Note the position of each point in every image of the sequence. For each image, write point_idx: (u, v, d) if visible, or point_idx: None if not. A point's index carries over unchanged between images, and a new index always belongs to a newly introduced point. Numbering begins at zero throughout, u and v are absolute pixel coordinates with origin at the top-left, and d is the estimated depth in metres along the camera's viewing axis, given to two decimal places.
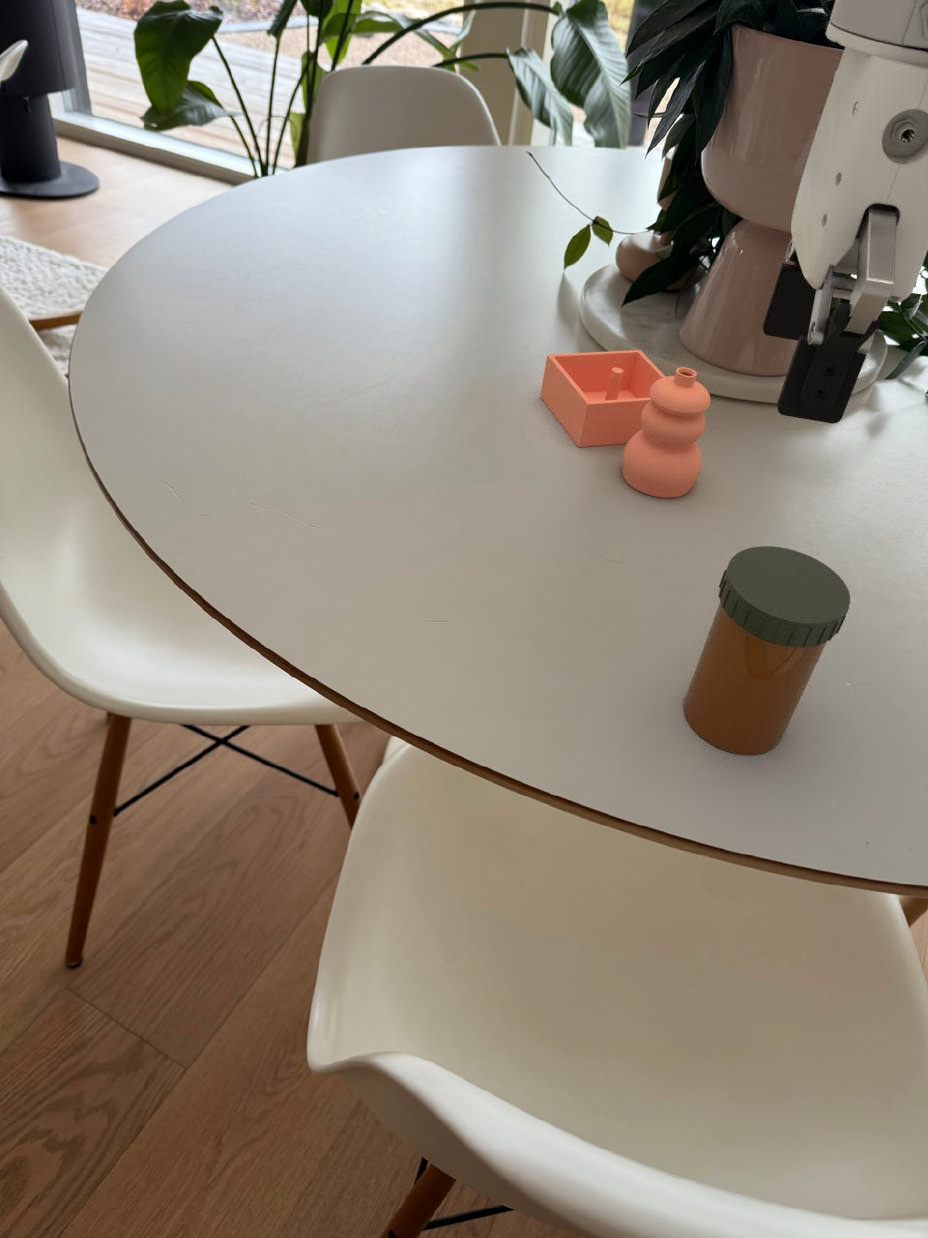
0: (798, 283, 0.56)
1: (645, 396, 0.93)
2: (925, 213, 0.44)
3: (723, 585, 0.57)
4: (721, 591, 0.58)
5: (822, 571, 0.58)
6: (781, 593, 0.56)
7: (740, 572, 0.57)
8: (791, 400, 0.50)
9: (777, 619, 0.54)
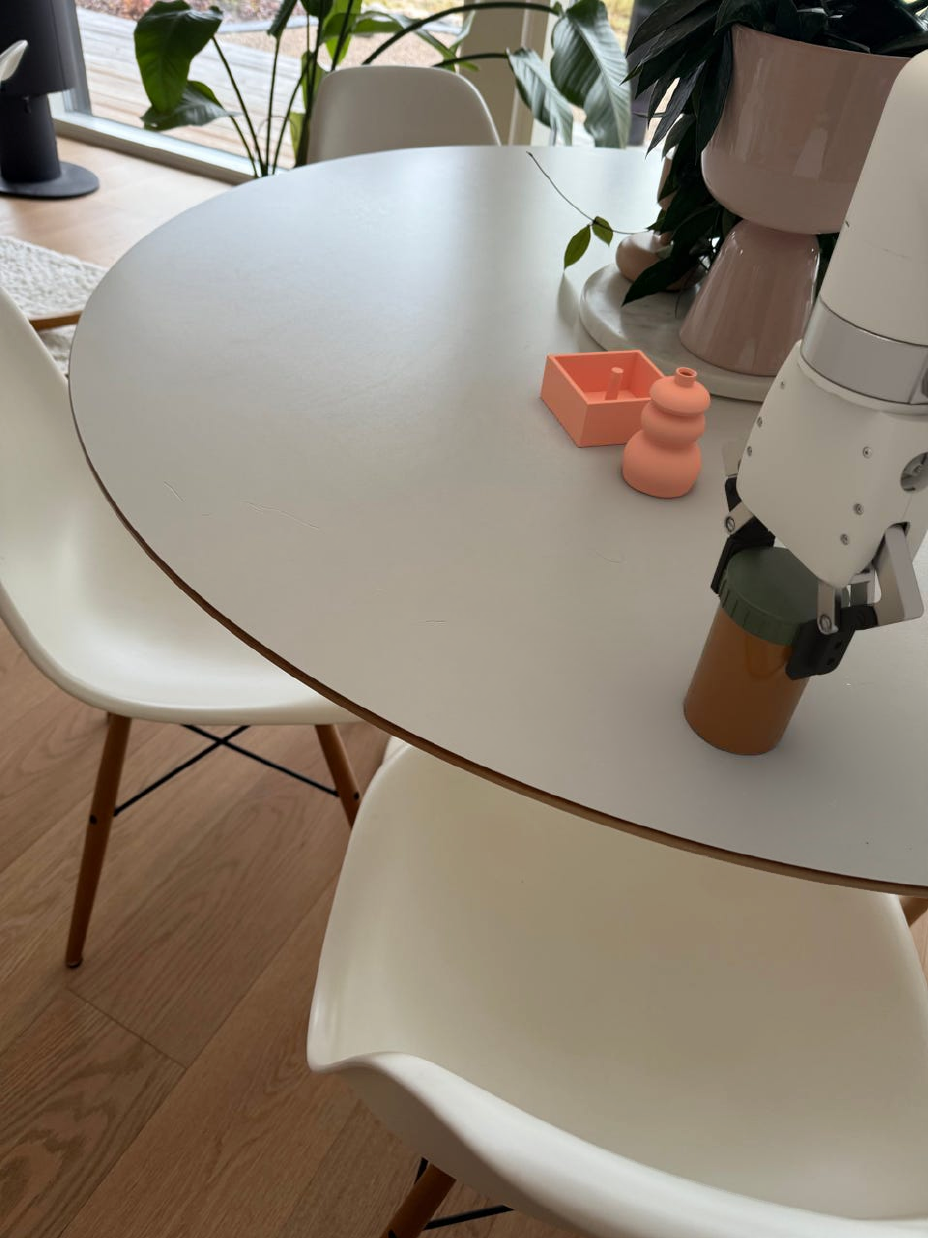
0: None
1: (645, 396, 0.93)
2: (927, 519, 0.49)
3: (723, 585, 0.57)
4: (721, 591, 0.58)
5: None
6: (781, 593, 0.56)
7: (740, 572, 0.57)
8: (801, 669, 0.55)
9: (777, 619, 0.54)
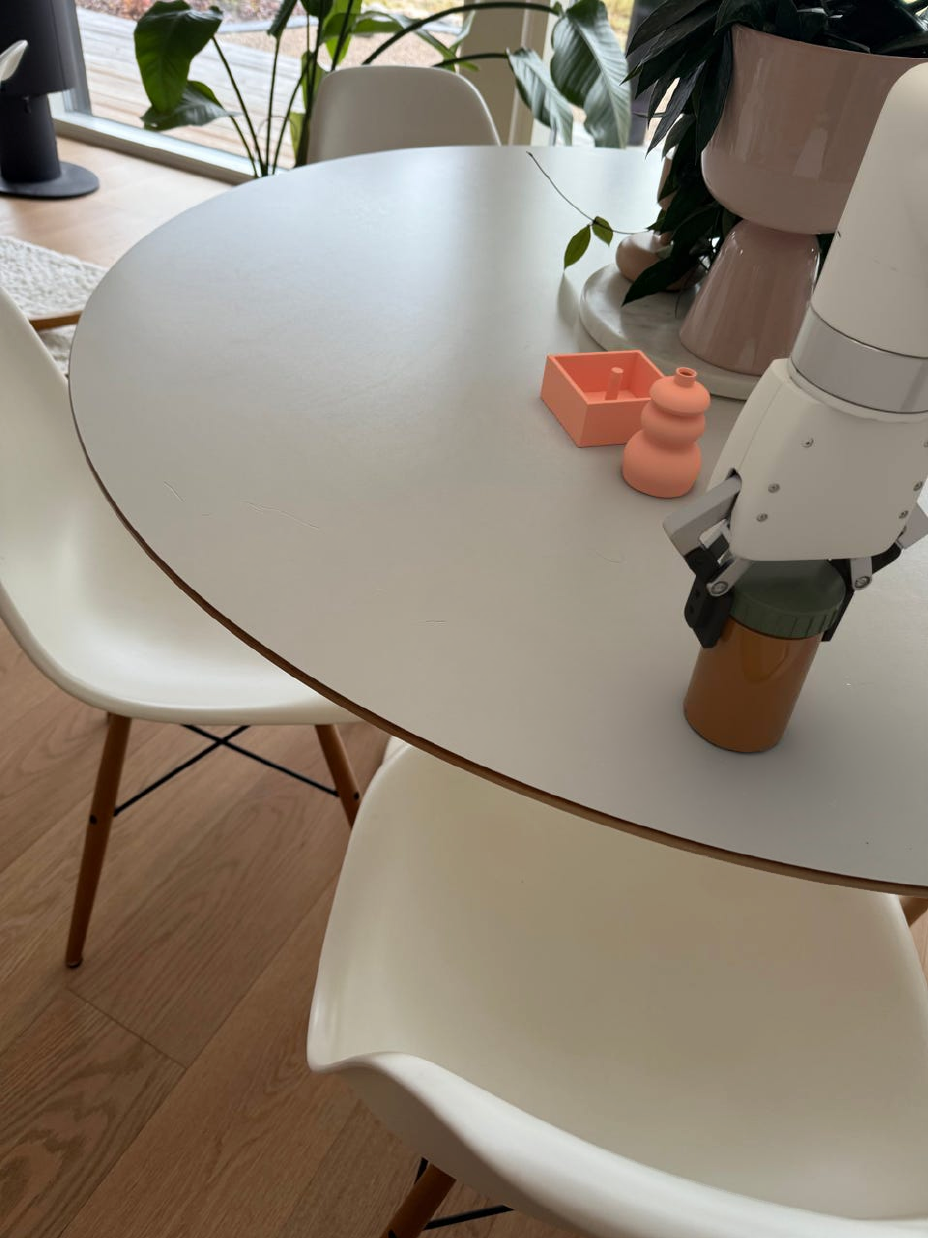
0: None
1: (645, 396, 0.93)
2: None
3: (780, 622, 0.55)
4: (778, 628, 0.55)
5: None
6: (803, 584, 0.56)
7: (777, 600, 0.55)
8: None
9: (842, 600, 0.56)
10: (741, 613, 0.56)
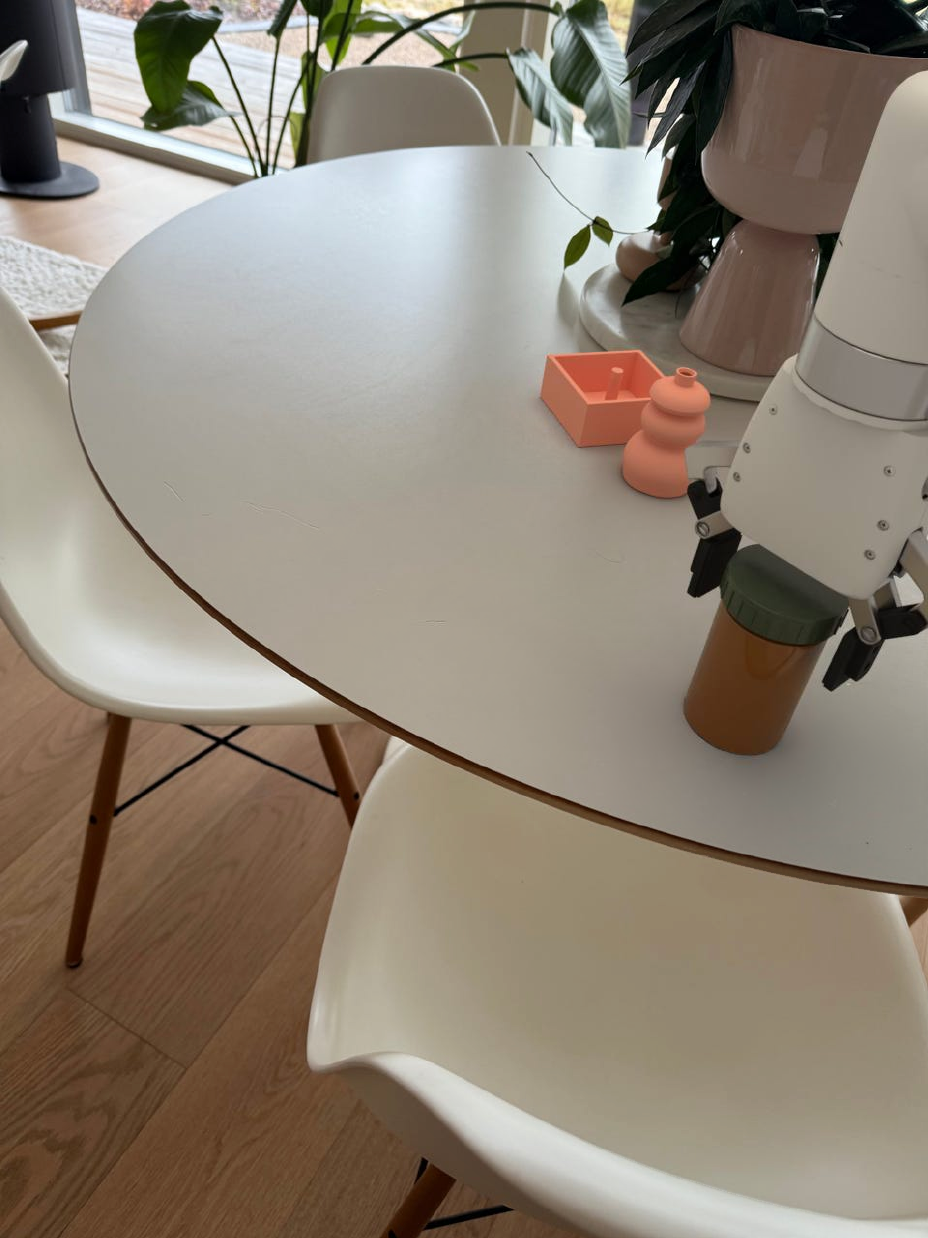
0: (720, 552, 0.59)
1: (645, 396, 0.93)
2: None
3: (786, 629, 0.55)
4: (783, 635, 0.55)
5: (762, 551, 0.59)
6: (809, 590, 0.56)
7: (783, 607, 0.55)
8: (839, 679, 0.55)
9: None
10: (747, 618, 0.56)
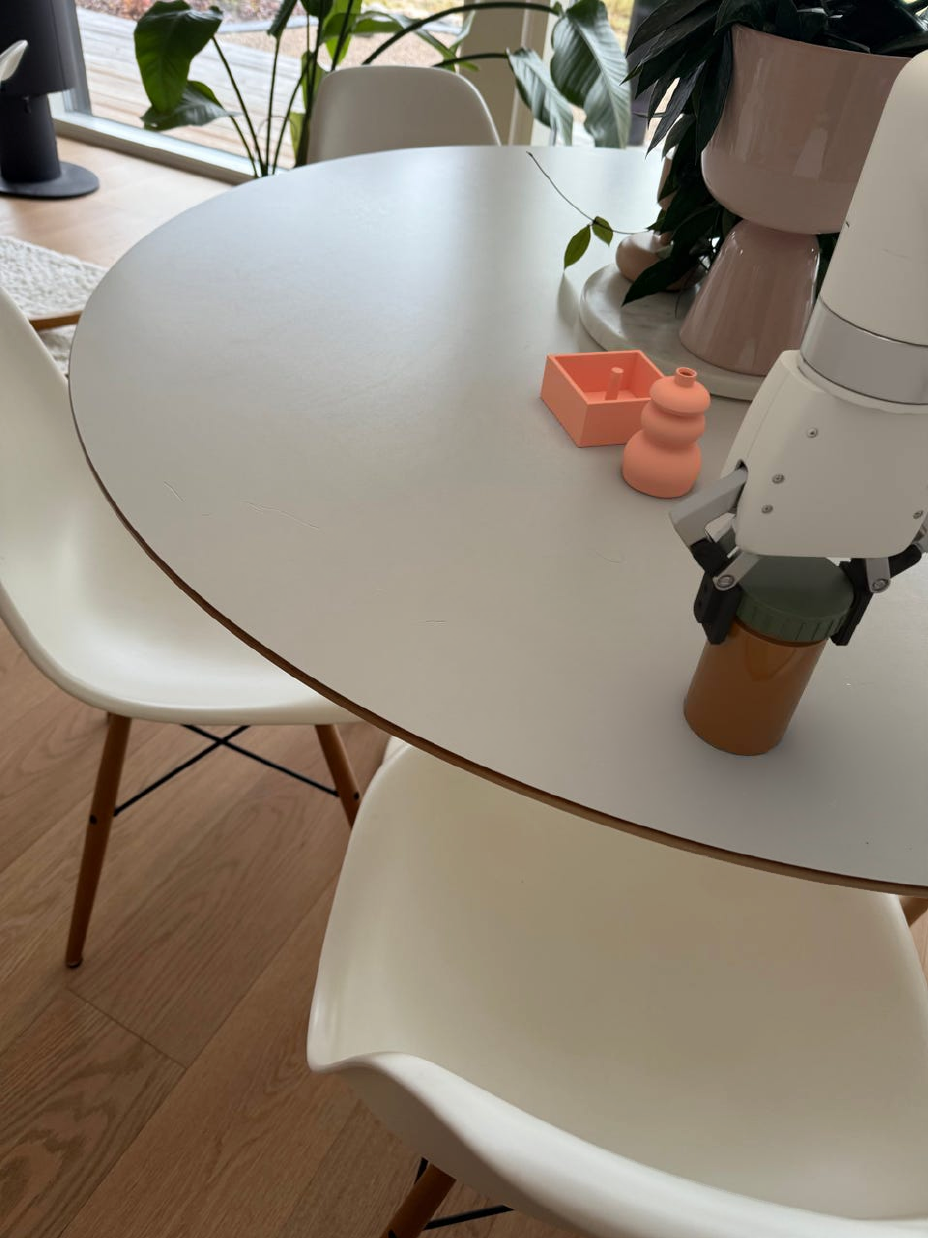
0: None
1: (645, 396, 0.93)
2: None
3: (847, 612, 0.56)
4: (845, 618, 0.56)
5: (745, 575, 0.56)
6: (806, 571, 0.57)
7: (837, 599, 0.55)
8: None
9: None
10: (825, 632, 0.55)
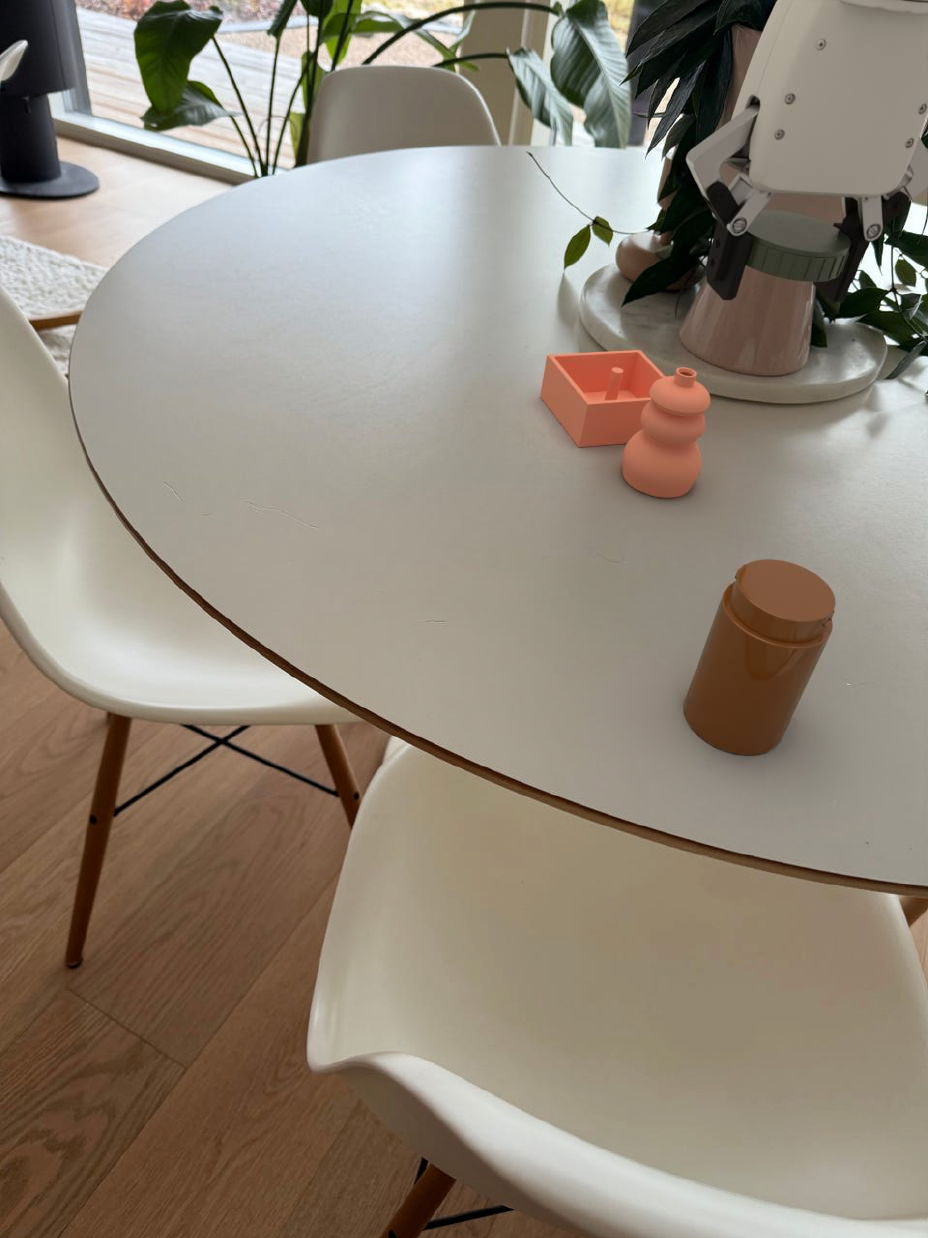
0: None
1: (645, 396, 0.93)
2: None
3: (846, 257, 0.61)
4: (844, 264, 0.62)
5: (753, 228, 0.61)
6: (806, 227, 0.62)
7: (837, 243, 0.61)
8: None
9: None
10: (829, 271, 0.60)
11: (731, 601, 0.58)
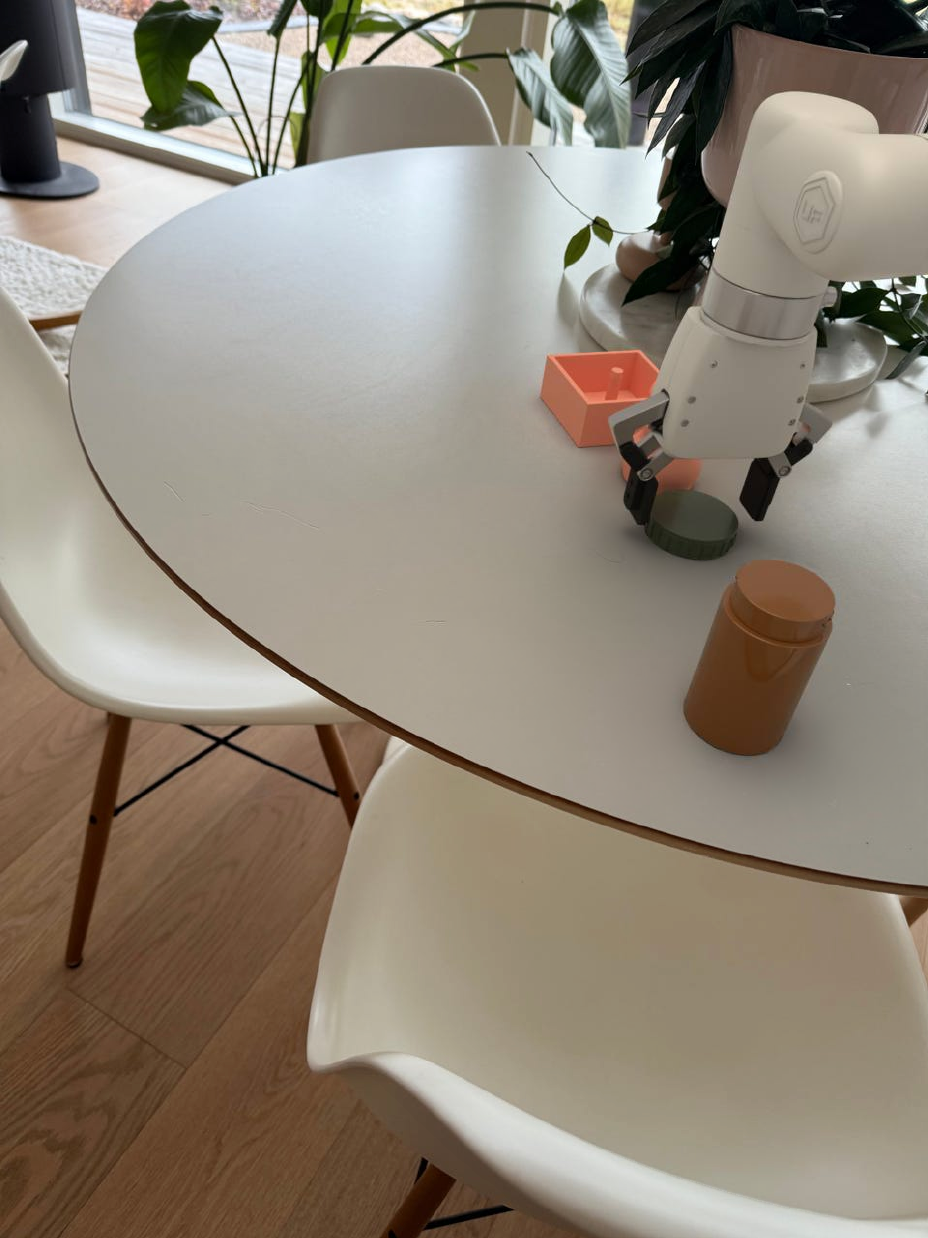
0: None
1: (645, 396, 0.93)
2: None
3: (735, 536, 0.78)
4: (733, 541, 0.78)
5: (661, 514, 0.78)
6: (704, 509, 0.79)
7: (726, 527, 0.77)
8: None
9: None
10: (719, 551, 0.77)
11: (731, 601, 0.58)
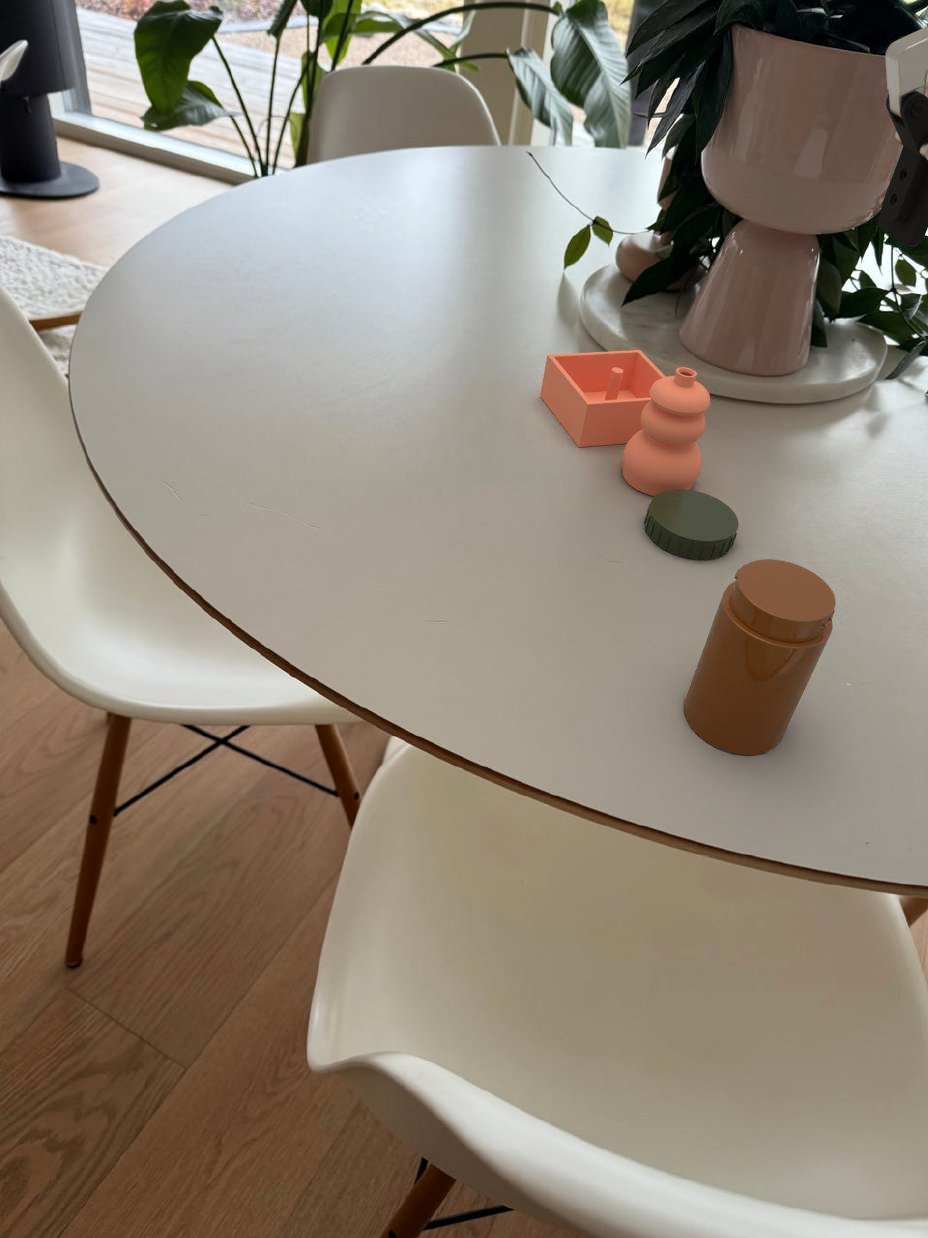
0: None
1: (645, 396, 0.93)
2: None
3: (735, 536, 0.78)
4: (733, 541, 0.78)
5: (661, 514, 0.78)
6: (704, 509, 0.79)
7: (726, 527, 0.77)
8: None
9: None
10: (719, 551, 0.77)
11: (731, 601, 0.58)
